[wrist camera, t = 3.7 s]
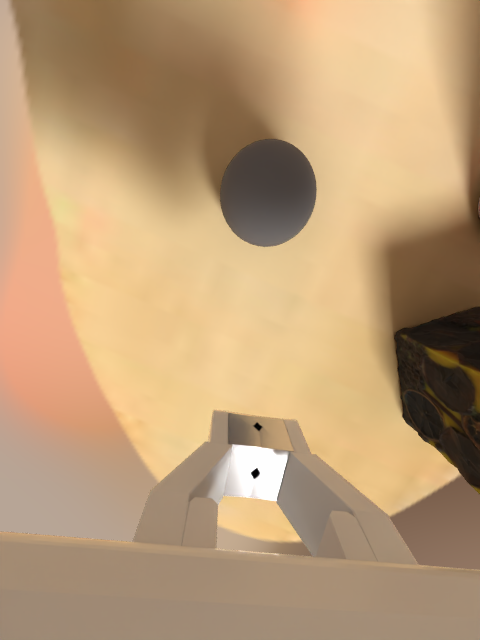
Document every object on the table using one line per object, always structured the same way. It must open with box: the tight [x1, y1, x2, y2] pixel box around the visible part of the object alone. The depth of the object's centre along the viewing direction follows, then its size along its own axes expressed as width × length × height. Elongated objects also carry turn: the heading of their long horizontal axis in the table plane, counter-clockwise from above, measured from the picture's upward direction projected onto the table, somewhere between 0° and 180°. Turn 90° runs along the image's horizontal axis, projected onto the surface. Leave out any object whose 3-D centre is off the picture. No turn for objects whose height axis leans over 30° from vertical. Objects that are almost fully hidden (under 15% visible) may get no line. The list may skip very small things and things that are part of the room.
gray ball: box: [220, 139, 316, 247], centre depth 15 cm, size 6×6×6 cm
